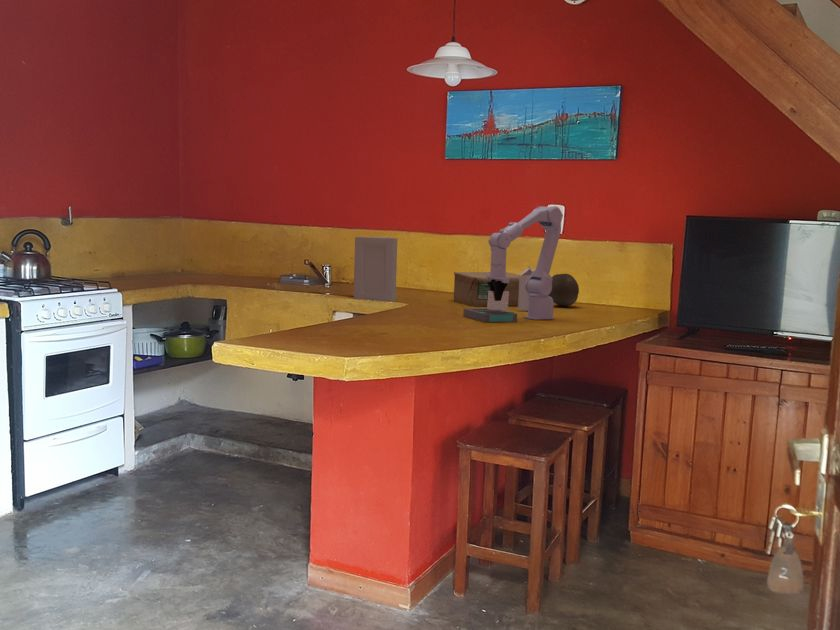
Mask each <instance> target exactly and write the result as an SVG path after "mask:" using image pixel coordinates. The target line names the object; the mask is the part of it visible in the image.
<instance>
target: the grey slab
mask: <svg viewBox="0 0 840 630" xmlns="http://www.w3.org/2000/svg"><path fill="white" fill-rule="evenodd" d="M508 300H509V292H508V291H504V292H503V295H502V299H501V301H495V291H488V302H487V307H486V308H487V309H489V310H504V311H509V306H508Z"/></svg>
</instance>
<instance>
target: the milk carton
mask: <svg viewBox="0 0 840 630" xmlns="http://www.w3.org/2000/svg"><path fill="white" fill-rule="evenodd" d="M535 270H536V269H534V268H532V269H531V266H530V265H527V268H526V269H525V270H523V271H522V272H521V273H519V274H518V275H519V296H518V306H517V310H518V311H519V312H520V311H521V312H528V304H529V295H528V292H527V291H526V288H525V285H526V282H527V280H528V279H529V277H530V274H532V273H533V272H534V271H535Z"/></svg>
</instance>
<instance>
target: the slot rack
mask: <svg viewBox="0 0 840 630" xmlns="http://www.w3.org/2000/svg"><path fill="white" fill-rule="evenodd" d="M462 316H463V317H465V318H468V319H472V320H475V321H478V322H482V323H515V322H516V323H517V322H518V313H516V312H514V311H510V310H489V309H487V307H486V308H485V307H474V308H463V312H462Z"/></svg>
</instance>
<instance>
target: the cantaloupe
mask: <svg viewBox="0 0 840 630" xmlns="http://www.w3.org/2000/svg"><path fill="white" fill-rule="evenodd" d="M551 277H552V279H553V280H552V290H551V293H550V294H549V296H550V297H552V299H553V302H554V304H555V305H556V306H558V307H562V308H568V307H569V306H572V305H574V304H575V303H576V302H577V300H578V297H579V293H580V287H579V284H578V282H577V280H576V278H575V277H573V276H572V274H569V273H557V274H556V273H555V274H554V275H553V276H551Z"/></svg>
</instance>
